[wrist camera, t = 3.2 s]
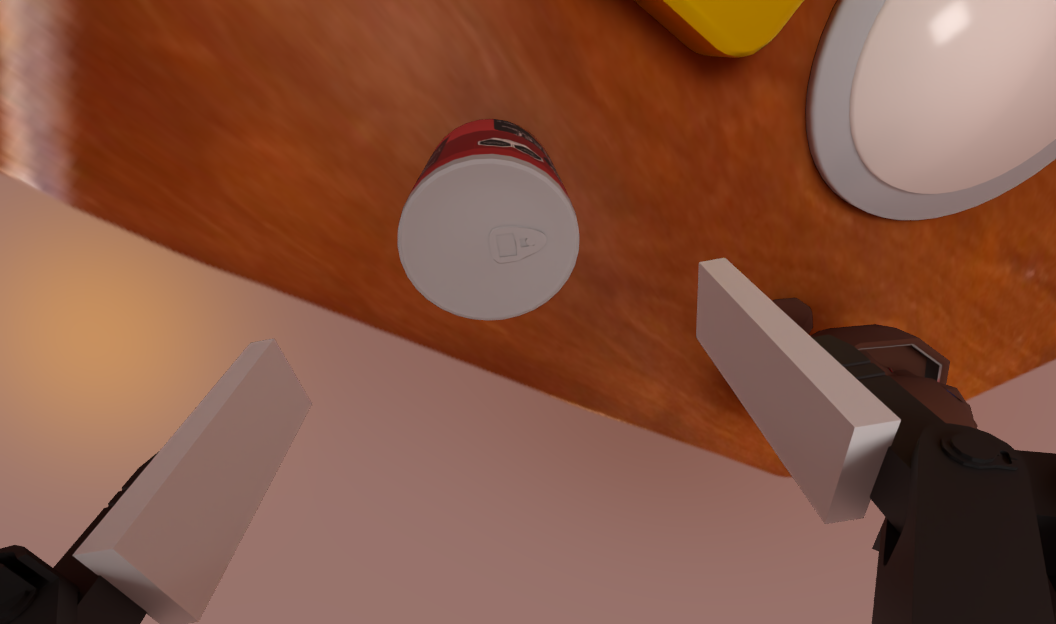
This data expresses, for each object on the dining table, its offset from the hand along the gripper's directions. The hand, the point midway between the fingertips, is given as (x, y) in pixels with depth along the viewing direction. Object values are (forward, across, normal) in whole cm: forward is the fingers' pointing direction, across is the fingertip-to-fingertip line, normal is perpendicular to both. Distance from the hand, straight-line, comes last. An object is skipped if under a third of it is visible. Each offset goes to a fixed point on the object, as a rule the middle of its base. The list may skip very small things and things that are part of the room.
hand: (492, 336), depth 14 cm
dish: (+17, +30, +2) cm, 35 cm away
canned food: (+18, 0, 0) cm, 18 cm away
